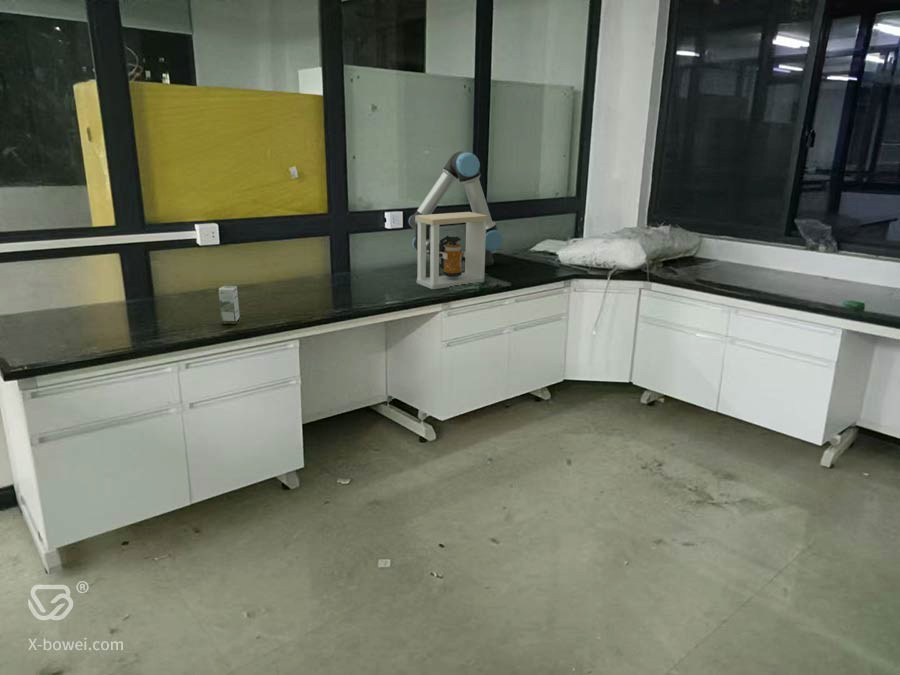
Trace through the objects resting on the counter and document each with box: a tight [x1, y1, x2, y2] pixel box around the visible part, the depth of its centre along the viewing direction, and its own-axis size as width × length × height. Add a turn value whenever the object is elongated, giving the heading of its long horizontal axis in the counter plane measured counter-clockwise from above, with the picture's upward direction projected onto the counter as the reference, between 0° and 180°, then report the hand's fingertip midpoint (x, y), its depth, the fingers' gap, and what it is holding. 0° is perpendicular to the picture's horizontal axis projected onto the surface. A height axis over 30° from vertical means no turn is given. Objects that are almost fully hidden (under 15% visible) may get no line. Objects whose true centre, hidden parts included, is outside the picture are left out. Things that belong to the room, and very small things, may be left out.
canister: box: [439, 235, 463, 277], centre depth 316 cm, size 9×11×20 cm
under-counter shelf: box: [415, 211, 488, 290], centre depth 315 cm, size 32×16×34 cm, turn 123°
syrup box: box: [218, 285, 241, 322], centre depth 248 cm, size 6×6×14 cm
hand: (455, 255), depth 312 cm, fingers closed on canister, 10 cm apart
